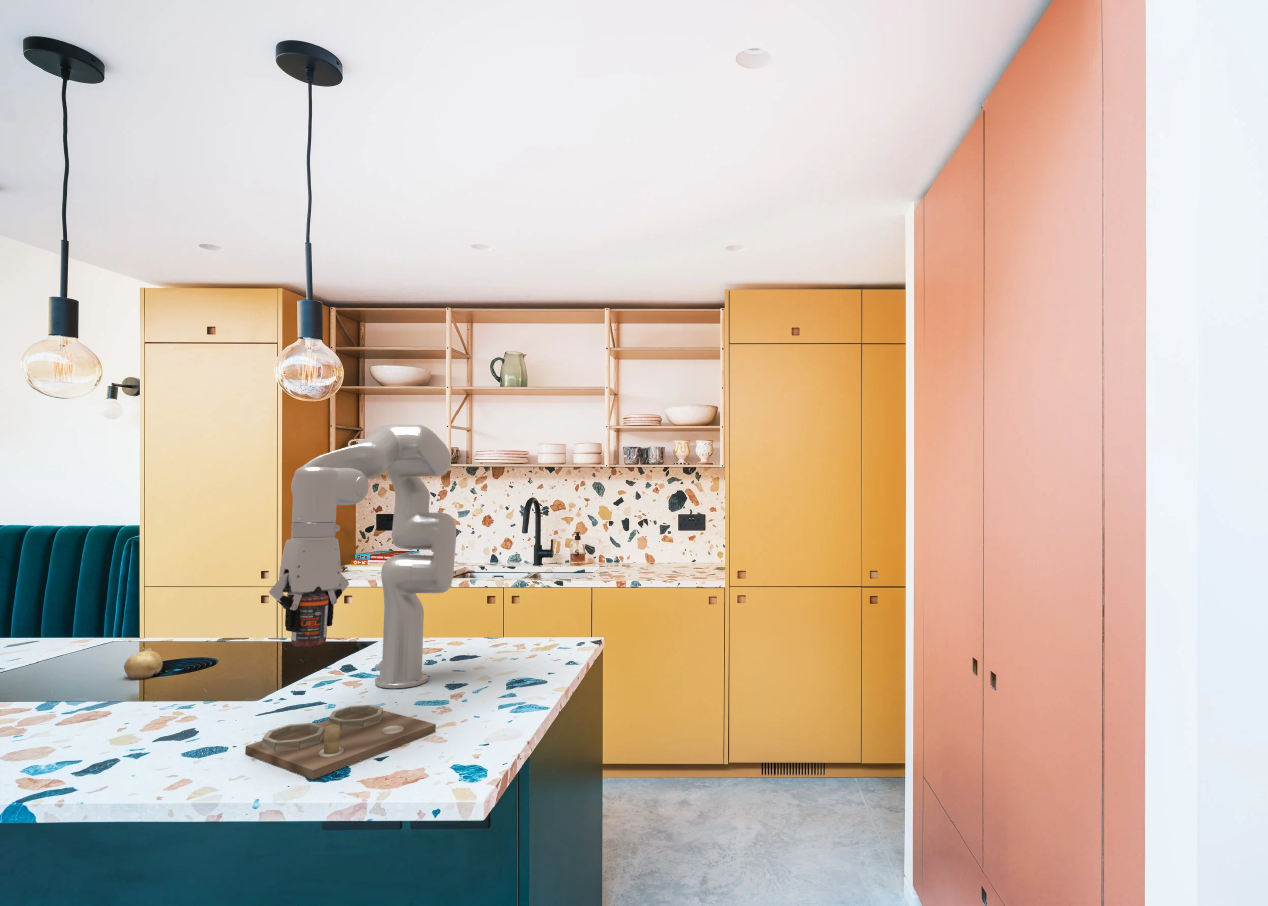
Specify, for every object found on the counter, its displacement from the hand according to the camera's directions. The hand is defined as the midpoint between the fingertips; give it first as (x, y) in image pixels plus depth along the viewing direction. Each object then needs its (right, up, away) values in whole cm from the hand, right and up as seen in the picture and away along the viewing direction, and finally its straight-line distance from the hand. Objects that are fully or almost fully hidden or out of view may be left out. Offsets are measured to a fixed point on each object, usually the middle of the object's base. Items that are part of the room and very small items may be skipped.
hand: (309, 627), depth 122 cm
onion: (-64, -25, +44) cm, 82 cm away
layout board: (+6, -22, +1) cm, 23 cm away
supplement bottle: (0, -3, 0) cm, 3 cm away
